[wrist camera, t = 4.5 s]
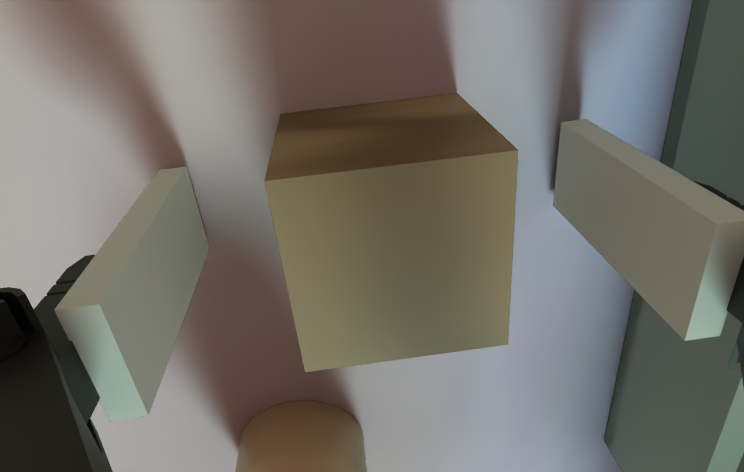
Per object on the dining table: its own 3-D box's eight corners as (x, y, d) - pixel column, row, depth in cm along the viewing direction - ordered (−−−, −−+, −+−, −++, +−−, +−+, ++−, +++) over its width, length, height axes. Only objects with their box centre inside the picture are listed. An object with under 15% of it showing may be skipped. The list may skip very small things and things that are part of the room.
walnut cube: (308, 263, 16) (305, 372, 12) (280, 112, 14) (264, 181, 10) (457, 244, 17) (508, 344, 12) (456, 92, 14) (518, 150, 10)
